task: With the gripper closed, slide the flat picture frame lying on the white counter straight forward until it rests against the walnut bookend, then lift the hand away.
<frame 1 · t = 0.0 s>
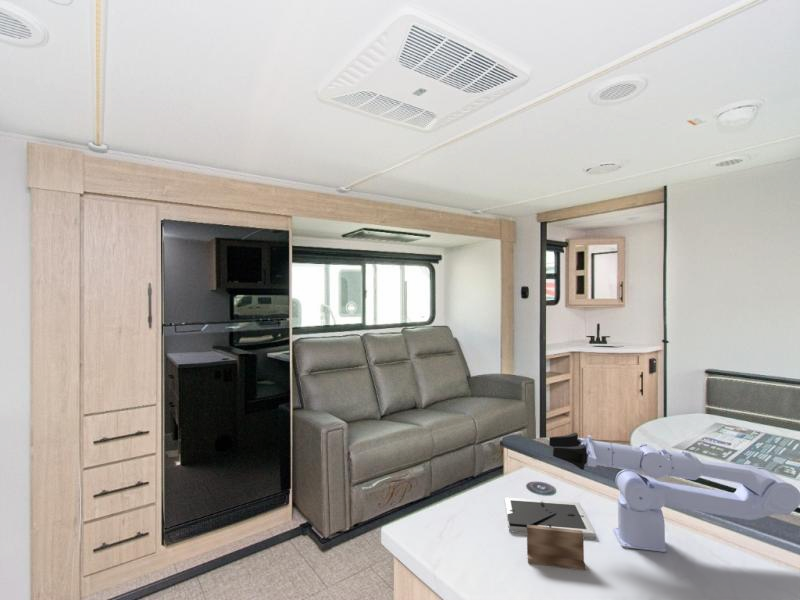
hand: (551, 446, 105), 22 cm above the kitchen island, tool horizontal, fingers open, 7 cm apart
picture frame: (546, 522, 111), on the kitchen island
walnut bookend: (555, 562, 92), on the kitchen island
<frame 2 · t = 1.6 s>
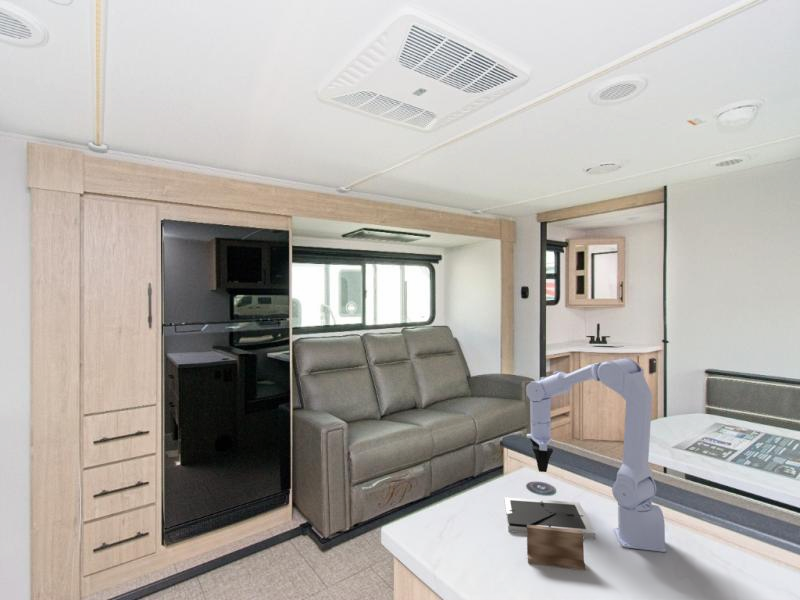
hand: (541, 466, 122), 9 cm above the kitchen island, tool pointing down, fingers open, 7 cm apart
nothing on the kitchen island moved.
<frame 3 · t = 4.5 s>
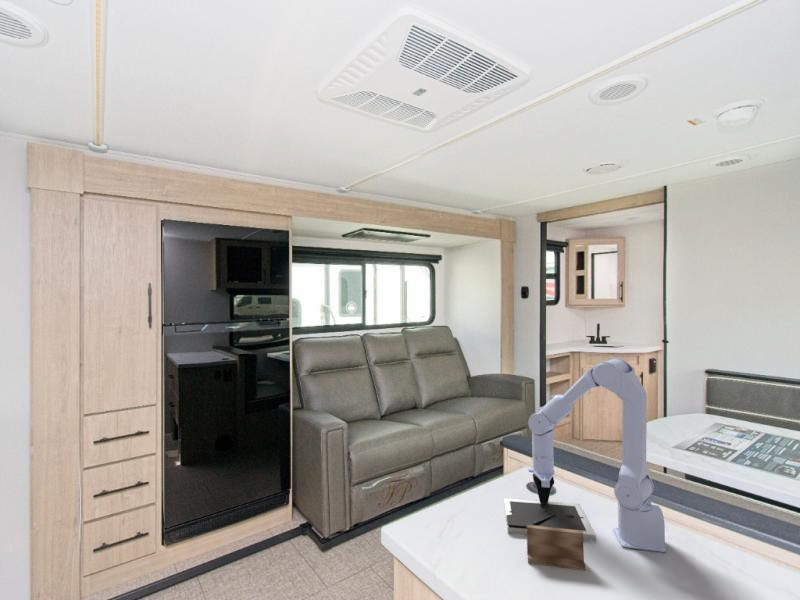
hand: (543, 501, 117), 1 cm above the kitchen island, tool pointing down, fingers closed
picture frame: (545, 523, 110), on the kitchen island, touching gripper
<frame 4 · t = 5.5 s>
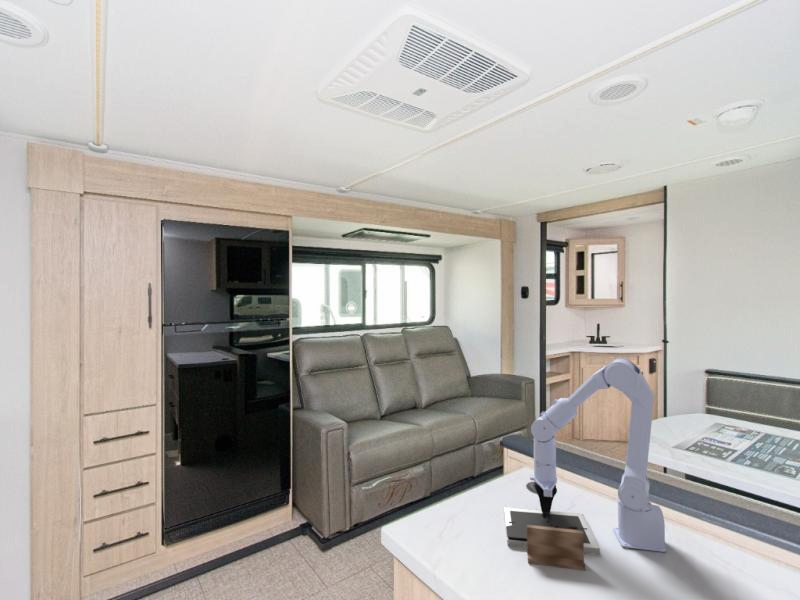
hand: (545, 511, 112), 1 cm above the kitchen island, tool pointing down, fingers closed
picture frame: (547, 534, 105), on the kitchen island, touching gripper
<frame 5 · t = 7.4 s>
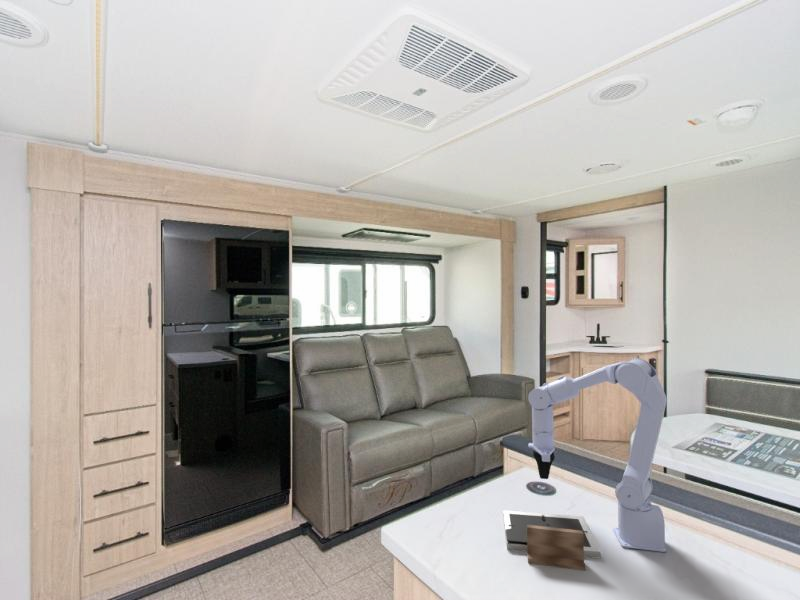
hand: (543, 477, 115), 9 cm above the kitchen island, tool pointing down, fingers closed
picture frame: (547, 538, 103), on the kitchen island
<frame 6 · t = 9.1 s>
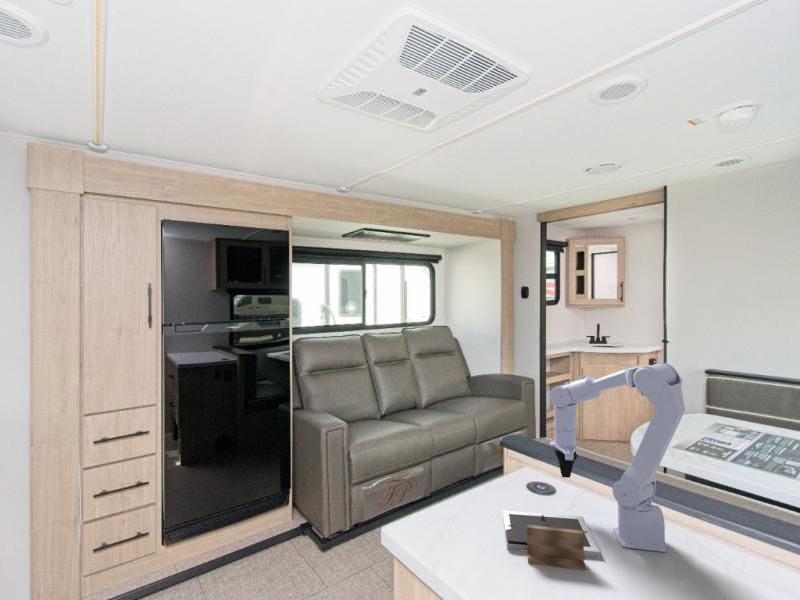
hand: (565, 476, 115), 9 cm above the kitchen island, tool pointing down, fingers closed
nothing on the kitchen island moved.
at the end: picture frame 1.8 cm from the target spot on the kitchen island beside the walnut bookend, on the kitchen island; picture frame moved 7.9 cm from its start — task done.
